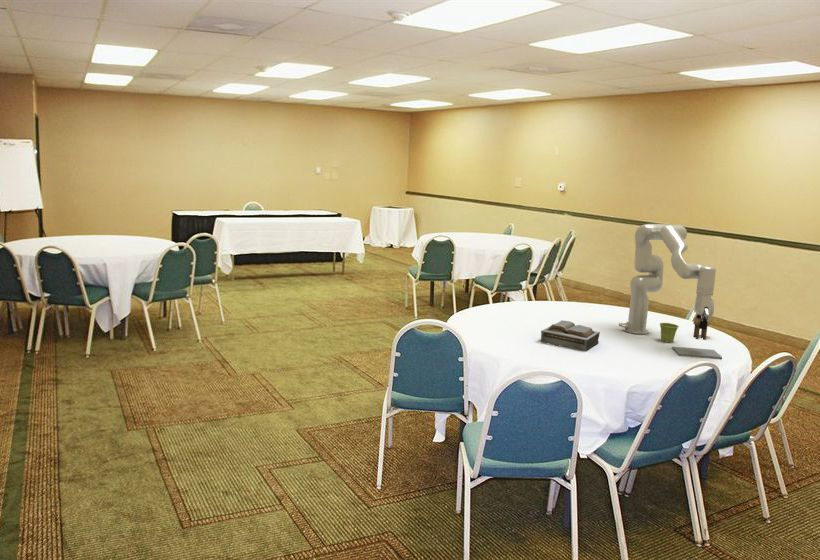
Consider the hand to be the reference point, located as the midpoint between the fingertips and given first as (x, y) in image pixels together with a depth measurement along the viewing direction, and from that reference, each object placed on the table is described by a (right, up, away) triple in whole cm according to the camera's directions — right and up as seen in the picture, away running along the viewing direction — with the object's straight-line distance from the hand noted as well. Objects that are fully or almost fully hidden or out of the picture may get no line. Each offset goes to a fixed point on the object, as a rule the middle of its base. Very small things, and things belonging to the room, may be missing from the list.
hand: (700, 326), depth 321 cm
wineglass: (+17, -8, +36) cm, 41 cm away
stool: (0, -6, +1) cm, 6 cm away
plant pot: (-7, -9, +25) cm, 27 cm away
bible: (-61, -9, +12) cm, 63 cm away
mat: (-1, -13, +3) cm, 14 cm away
